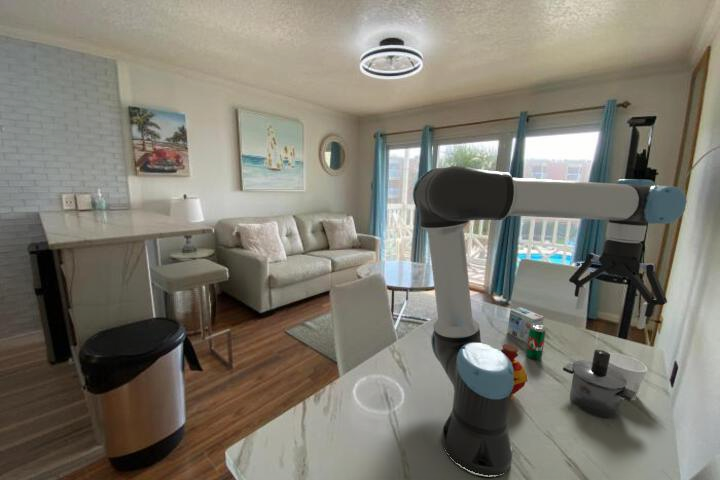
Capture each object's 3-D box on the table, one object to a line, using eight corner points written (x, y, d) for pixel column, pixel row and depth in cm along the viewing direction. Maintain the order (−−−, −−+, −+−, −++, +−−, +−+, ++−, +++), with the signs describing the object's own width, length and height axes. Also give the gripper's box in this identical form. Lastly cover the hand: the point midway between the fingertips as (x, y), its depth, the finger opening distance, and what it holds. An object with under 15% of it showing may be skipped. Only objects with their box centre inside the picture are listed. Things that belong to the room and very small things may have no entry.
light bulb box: (506, 332, 129) (509, 308, 127) (517, 330, 132) (520, 306, 130) (529, 344, 120) (533, 319, 118) (541, 341, 123) (544, 316, 121)
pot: (620, 430, 78) (627, 399, 76) (553, 395, 90) (558, 367, 89) (634, 414, 84) (641, 384, 82) (570, 382, 97) (574, 356, 95)
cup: (594, 389, 94) (599, 359, 92) (602, 377, 100) (607, 349, 99) (637, 407, 86) (644, 376, 85) (643, 393, 93) (649, 363, 91)
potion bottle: (501, 409, 84) (508, 359, 81) (478, 385, 94) (483, 340, 91) (532, 403, 86) (540, 355, 84) (506, 381, 96) (512, 337, 94)
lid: (613, 395, 77) (619, 370, 76) (563, 369, 88) (567, 347, 86) (633, 381, 83) (639, 358, 82) (584, 359, 94) (588, 338, 92)
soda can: (537, 353, 113) (541, 323, 111) (544, 361, 108) (548, 329, 106) (523, 352, 114) (527, 322, 112) (529, 360, 109) (533, 328, 107)
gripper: (696, 248, 71) (675, 333, 74) (575, 232, 91) (563, 299, 95) (689, 251, 67) (667, 341, 70) (563, 233, 87) (551, 304, 90)
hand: (607, 317), depth 82 cm, fingers open, 13 cm apart
